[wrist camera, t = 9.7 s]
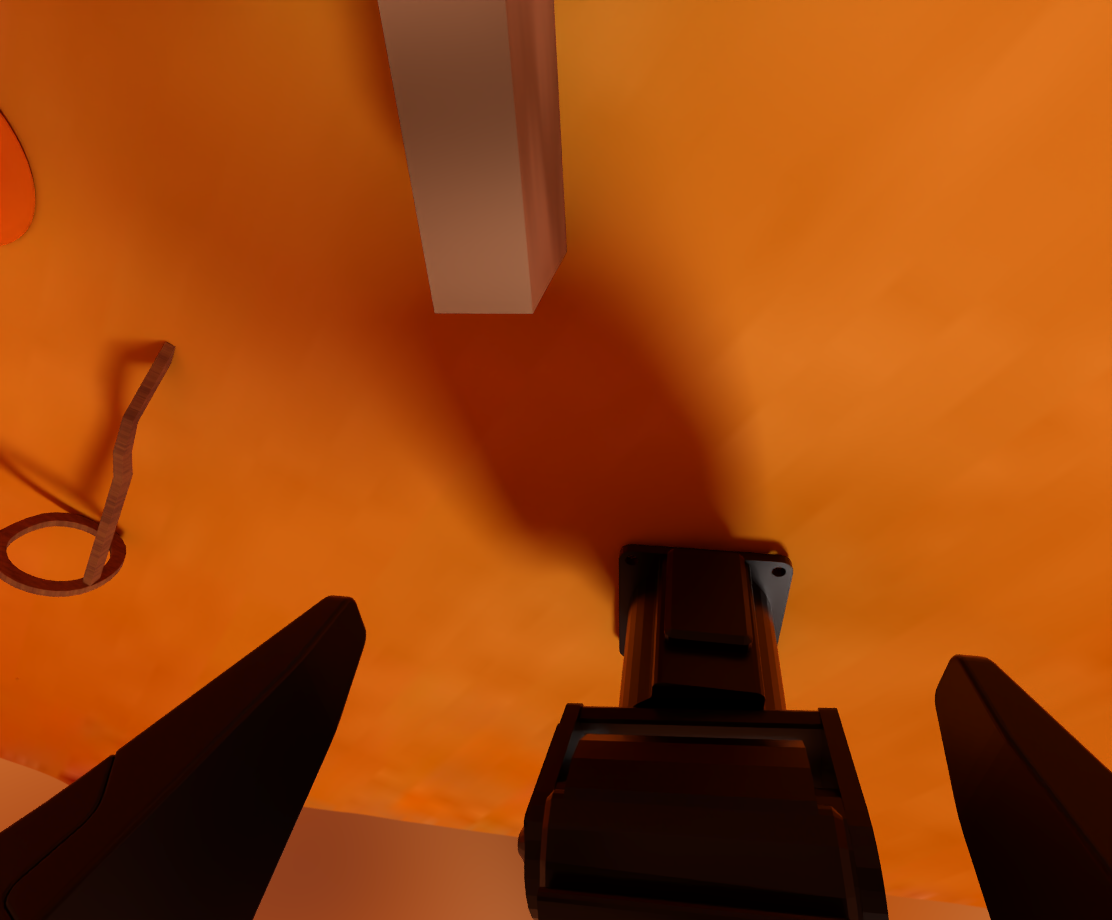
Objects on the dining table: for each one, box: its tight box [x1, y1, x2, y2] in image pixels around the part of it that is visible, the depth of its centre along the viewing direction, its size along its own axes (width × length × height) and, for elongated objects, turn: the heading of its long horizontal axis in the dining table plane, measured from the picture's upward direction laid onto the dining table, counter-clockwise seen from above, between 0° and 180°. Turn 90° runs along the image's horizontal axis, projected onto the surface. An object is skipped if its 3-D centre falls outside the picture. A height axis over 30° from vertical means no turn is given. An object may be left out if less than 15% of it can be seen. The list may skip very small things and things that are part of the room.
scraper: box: [378, 0, 567, 314], centre depth 14 cm, size 9×14×5 cm, turn 94°
